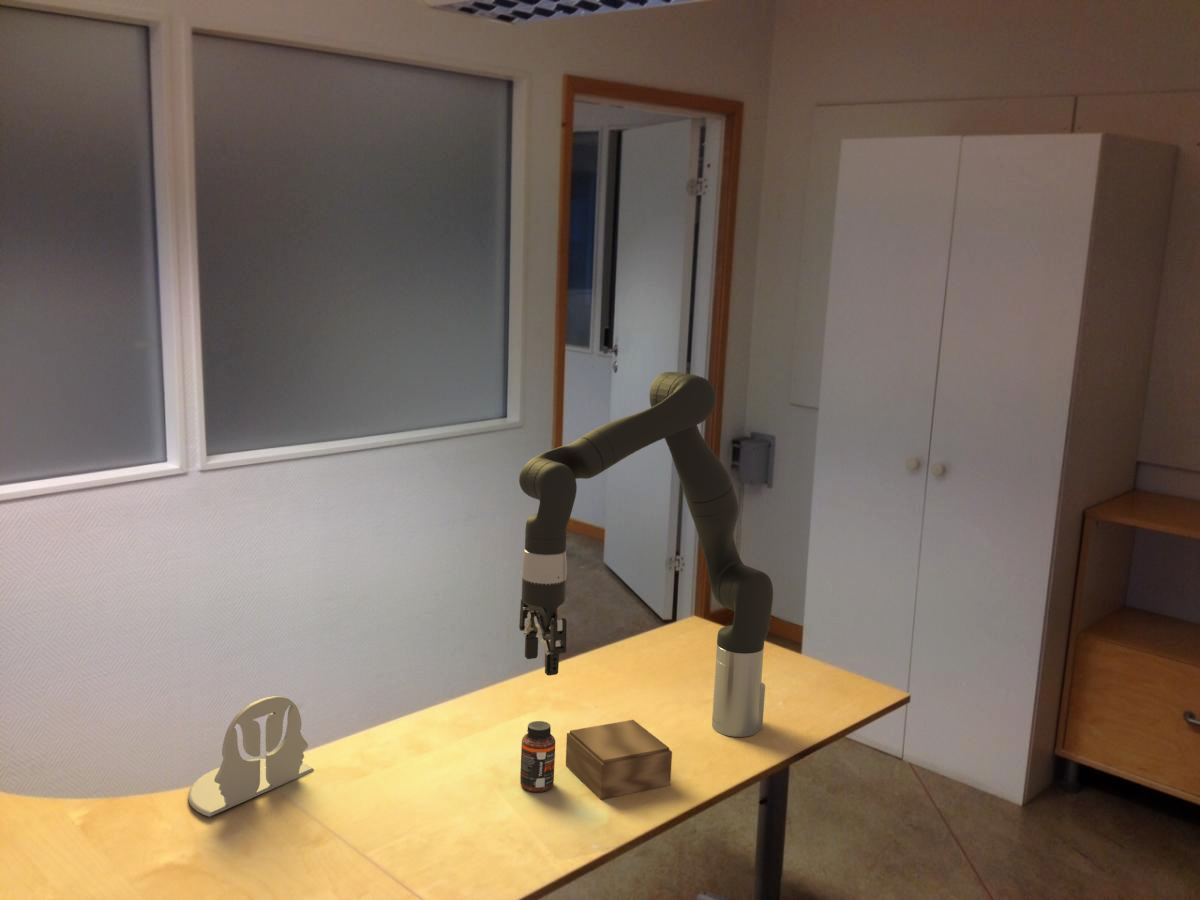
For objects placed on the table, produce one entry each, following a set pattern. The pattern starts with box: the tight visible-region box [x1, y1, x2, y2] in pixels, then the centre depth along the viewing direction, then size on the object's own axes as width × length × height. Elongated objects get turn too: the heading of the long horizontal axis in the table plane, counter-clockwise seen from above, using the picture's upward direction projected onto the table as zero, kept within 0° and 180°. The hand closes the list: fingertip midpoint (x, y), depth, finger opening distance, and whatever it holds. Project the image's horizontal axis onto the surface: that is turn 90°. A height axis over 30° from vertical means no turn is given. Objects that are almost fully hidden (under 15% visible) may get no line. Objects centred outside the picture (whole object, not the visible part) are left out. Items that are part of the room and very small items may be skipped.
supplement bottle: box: [519, 720, 556, 793], centre depth 195 cm, size 6×6×11 cm
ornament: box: [187, 695, 315, 817], centre depth 192 cm, size 22×13×17 cm, turn 145°
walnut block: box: [565, 719, 673, 801], centre depth 200 cm, size 14×14×7 cm
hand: (541, 666), depth 192 cm, fingers open, 8 cm apart
